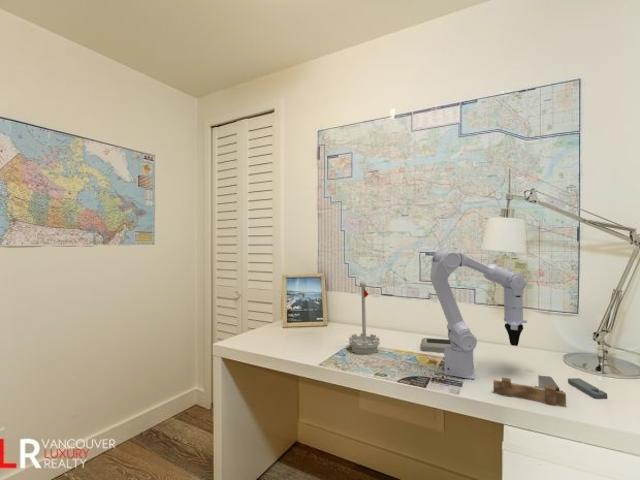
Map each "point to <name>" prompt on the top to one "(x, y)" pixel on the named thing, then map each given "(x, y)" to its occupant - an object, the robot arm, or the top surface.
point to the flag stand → (364, 332)
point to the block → (546, 382)
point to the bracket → (587, 388)
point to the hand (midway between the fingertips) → (514, 345)
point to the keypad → (434, 345)
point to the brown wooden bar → (530, 392)
